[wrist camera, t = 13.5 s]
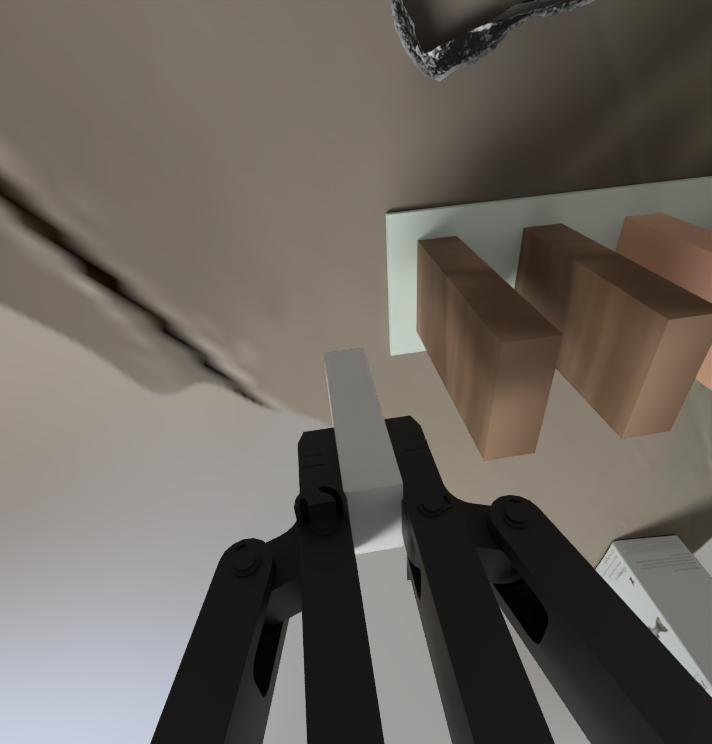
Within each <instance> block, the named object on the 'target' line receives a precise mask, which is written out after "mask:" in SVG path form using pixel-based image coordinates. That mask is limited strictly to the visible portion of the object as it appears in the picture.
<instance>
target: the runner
mask: <svg viewBox="0 0 712 744" xmlns="http://www.w3.org/2000/svg"><path fill="white" fill-rule="evenodd" d="M654 213H664V214H667V215H669V216H672V217H675V218H678V219H680V220H683V221H686V222H688V223H691V224H694V225H697V226H699V227H702V228H705V229H708V230H710V231H712V176H707V177H698V178H689V179H681V180H672V181H663V182H654V183H646V184H637V185H628V186H619V187H611V188H602V189H593V190H584V191H576V192H567V193H558V194H549V195H541V196H532V197H523V198H515V199H506V200H497V201H488V202H480V203H471V204H462V205H453V206H445V207H436V208H427V209H418V210H410V211H401V212H392V213H386V239H387V272H388V304H389V336H390V354H391V355H398V354H405V353H413V352H420V351H426V349H425V347H424V345H423V343H422V341H421V339H420V337H419V335H418V333H417V331H416V325H417V240H425V239H433V238H442V237H450V236H457V237H458V238H460V239H461V240H462V241H463V242H464V243H465V244H466V245H467V246H468V247H469V248H470V249H471V250H472V251H474V252H475V253H476V254H477V255H478V256H479V257H480V258H481V259H482V260H483V261H484V262H485V263H487V264H488V265H489V266H490V267H491V268H492V269H493V270H494V271H495V272H496V273H497V274H498V275H500V276H501V277H502V278H503V279H504V280H505V281H506V282H507V283H508V284H509V285H510V286H511V287H512V288H514V287H515V281H516V274H517V268H518V261H519V255H520V248H521V242H522V235H523V229H524V228H525V227H533V226H542V225H550V224H559V223H562V224H564V225H566V226H568V227H569V228H571V229H573V230H575V231H577V232H579V233H581V234H583V235H584V236H586V237H588V238H590V239H592V240H594V241H596V242H598V243H599V244H601V245H603V246H605V247H607V248H609V249H611V250H613V251H614V252H615V250H616V247H617V243H618V240H619V237H620V233H621V230H622V226H623V223H624V219H625V217H627V216H636V215H645V214H654Z"/></svg>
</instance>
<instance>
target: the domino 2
mask: <svg viewBox="0 0 712 744" xmlns="http://www.w3.org/2000/svg"><path fill="white" fill-rule="evenodd" d="M514 289H515V290H516V291H517V292H518V293H519V294H520V295H521V296H522V297H523V298H524V299H525V300H527V301H528V302H529V303H530V304H531V305H532V306H533V307H534V308H535V309H536V310H537V311H538V312H539V313H541V314H542V315H543V316H544V317H545V318H546V319H547V320H548V321H549V322H550V323H551V324H552V325H554V326H555V327H556V328H557V329H558V330H559V331H560V332H561V333H562V334H563V338H562V343H561V347H560V351H559V355H558V359H557V363H556V367H555V368H556V369H557V370H558V371H559V372H560V373H561V374H562V375H563V376H564V377H565V379H566V380H567V381H568V382H569V383H570V384H571V385H572V386H573V387H574V388H575V389H576V390H577V391H578V393H579V394H580V395H581V396H582V397H583V398H584V399H585V400H586V401H587V402H588V403H589V404H590V405H591V406H592V408H593V409H594V410H595V411H596V412H597V413H598V414H599V415H600V416H601V417H602V418H603V419H604V420H605V421H606V423H607V424H608V425H609V426H610V427H611V428H612V429H613V430H614V431H615V432H616V433H617V434H618V435H619V437H620V438H621V439H623V438H630V437H636V436H642V435H648V434H654V433H661V432H667V431H670V430H671V428H672V426H673V424H674V422H675V419H676V417H677V415H678V413H679V411H680V409H681V407H682V405H683V403H684V401H685V399H686V397H687V395H688V392H689V390H690V388H691V386H692V384H693V382H694V380H695V378H696V376H697V374H698V372H699V370H700V367H701V365H702V363H703V361H704V359H705V357H706V355H707V353H708V351H709V349H710V347H711V345H712V303H710V302H708V301H706V300H704V299H703V298H701V297H699V296H697V295H695V294H693V293H691V292H689V291H688V290H686V289H684V288H682V287H680V286H678V285H676V284H674V283H673V282H671V281H669V280H667V279H665V278H663V277H661V276H659V275H658V274H656V273H654V272H652V271H650V270H648V269H646V268H644V267H643V266H641V265H639V264H637V263H635V262H633V261H631V260H629V259H628V258H626V257H624V256H622V255H620V254H618V253H616V252H614V251H613V250H611V249H609V248H607V247H605V246H603V245H601V244H599V243H598V242H596V241H594V240H592V239H590V238H588V237H586V236H584V235H583V234H581V233H579V232H577V231H575V230H573V229H571V228H569V227H568V226H566V225H564V224H562V223H559V224H550V225H542V226H533V227H525V228H524V229H523V235H522V242H521V248H520V255H519V261H518V268H517V274H516V281H515V287H514Z"/></svg>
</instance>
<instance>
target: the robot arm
mask: <svg viewBox="0 0 712 744" xmlns="http://www.w3.org/2000/svg"><path fill="white" fill-rule="evenodd" d="M323 354H324V362H325V370H326V377H327V385H328V393H329V400H330V408H331V415H332V422H333V428H328V429H321V430H315V431H307V432H303V435H302V436H301V439H300V441H299V443H298V458H299V459H298V461H299V485H300V494H299V495H298V496H297V498H296V500H295V506H294V510H295V514H296V518H297V521H296V523H295V524H294V525H293V527H292V528H291V529H289V530H288V531H287V532H286V533H284V534H282V535H281V536H279V537H277V538H275V539H273V540H271V541H269V542H266V543H265V542H264V541H262V540H258V539H255V538H251V539H244V540H241V541H239V542H237V543H235V544H233V545H232V546H231V547H230V548H228V549H227V550H226V551H225V552H224V554H223V556H222V557H221V559H220V561H219V563H218V566H217V568H216V571H215V574H214V576H213V579H212V582H211V584H210V587H209V590H208V592H207V595H206V598H205V600H204V603H203V606H202V609H201V611H200V614H199V616H198V619H197V621H196V624H195V627H194V629H193V632H192V635H191V638H190V640H189V643H188V645H187V648H186V651H185V653H184V656H183V658H182V661H181V664H180V666H179V669H178V672H177V674H176V677H175V680H174V682H173V685H172V688H171V690H170V693H169V696H168V698H167V701H166V704H165V706H164V709H163V711H162V714H161V717H160V719H159V722H158V725H157V728H156V730H155V733H154V735H153V738H152V741H151V743H150V744H263V739H264V734H265V729H266V725H267V720H268V715H269V710H270V706H271V701H272V697H273V692H274V687H275V682H276V677H277V673H278V668H279V664H280V659H281V654H282V650H283V645H284V640H285V635H286V630H287V626H288V621H289V618H290V617H292V616H294V615H296V614H298V613H299V612H301V611H302V620H303V621H302V622H303V647H304V673H305V697H306V724H307V744H384V738H383V732H382V725H381V719H380V712H379V706H378V699H377V694H376V687H375V680H374V674H373V667H372V660H371V654H370V647H369V641H368V635H367V628H366V622H365V615H364V609H363V602H362V596H361V590H360V583H359V576H358V570H357V564H356V557H355V554H361V553H367V552H372V551H378V550H384V549H390V548H396V547H402V546H403V540H404V543H405V547H406V551H407V580H411V582H412V586H413V590H414V594H415V598H416V602H417V606H418V610H419V614H420V618H421V621H422V626H423V630H424V633H425V637H426V641H427V645H428V649H429V653H430V657H431V661H432V665H433V669H434V673H435V677H436V681H437V685H438V689H439V693H440V697H441V701H442V704H443V708H444V712H445V717H446V721H447V725H448V729H449V732H450V737H451V741H452V744H555V743H554V741H553V738H552V736H551V733H550V731H549V728H548V726H547V723H546V721H545V718H544V716H543V713H542V711H541V708H540V706H539V704H538V701H537V699H536V696H535V694H534V691H533V689H532V686H531V684H530V681H529V679H528V676H527V674H526V671H525V669H524V667H523V664H522V662H521V659H520V657H519V654H518V652H517V649H516V647H515V644H514V642H513V640H512V637H511V634H510V632H509V630H508V628H507V625H506V622H505V620H504V617H503V615H502V612H501V610H500V608H501V609H502V611H503V612H504V614H505V615H506V617H507V618H508V620H509V621H510V623H511V624H512V626H513V627H514V629H515V630H516V632H517V633H518V635H519V636H520V638H521V639H522V641H523V642H524V644H525V645H526V647H527V648H528V650H529V651H530V653H531V654H532V656H533V657H534V659H535V660H536V662H537V663H538V665H539V666H540V667H541V669H542V671H543V672H544V674H545V675H546V677H547V678H548V680H549V681H550V683H551V684H552V686H553V687H554V689H555V690H556V692H557V693H558V695H559V696H560V698H561V699H562V701H563V702H564V704H565V705H566V707H567V708H568V710H569V711H570V713H571V714H572V716H573V717H574V719H575V720H576V722H577V723H578V725H579V726H580V728H581V729H582V731H583V732H584V734H585V735H586V736H587V738H588V740H589V741H590V743H591V744H712V697H711V696H710V695H709V694H708V693H707V692H706V690H705V689H704V688H703V687H702V686H701V685H700V684H699V683H698V682H697V681H696V680H695V678H694V677H693V676H692V675H691V674H690V673H689V672H688V671H687V670H686V669H685V667H684V666H683V665H682V664H681V663H680V662H679V661H678V660H677V659H676V658H675V657H674V655H673V654H672V653H671V652H670V651H669V650H668V649H667V648H666V647H665V646H664V645H663V643H662V642H661V641H660V640H659V639H658V638H657V637H656V636H655V635H654V634H653V633H652V631H651V630H650V629H649V628H648V627H647V626H646V625H645V624H644V623H643V622H642V620H641V619H640V618H639V617H638V616H637V615H636V614H635V613H634V612H633V611H632V610H631V608H630V607H629V606H628V605H627V604H626V603H625V602H624V601H623V600H622V599H621V598H620V596H619V595H618V594H617V593H616V592H615V591H614V590H613V589H612V588H611V587H610V585H609V584H608V583H607V582H606V581H605V580H604V579H603V578H602V577H601V576H600V575H599V573H598V572H597V571H596V570H595V569H594V568H593V567H592V566H591V565H590V564H589V563H588V561H587V560H586V559H585V558H584V557H583V556H582V555H581V554H580V553H579V552H578V551H577V549H576V548H575V547H574V546H573V545H572V544H571V543H570V542H569V541H568V540H567V538H566V537H565V536H564V535H563V534H562V533H561V532H560V531H559V530H558V529H557V528H556V526H555V525H554V524H553V523H552V522H551V521H550V520H549V519H548V518H547V517H546V516H545V514H544V513H543V512H542V511H541V510H540V509H539V508H538V507H537V506H536V505H535V504H533V503H532V502H531V501H530V500H527V499H525V498H522V497H520V496H513V495H507V496H502V497H499V498H498V499H496V500H495V501H493V503H492V505H491V506H489V505H481V504H473V503H468V502H464V501H462V500H460V499H457V498H456V497H454V496H453V495H452V494H450V492H449V491H448V490H447V489H446V488H445V486H444V484H443V482H442V479H441V477H440V474H439V472H438V469H437V466H436V464H435V461H434V459H433V456H432V454H431V451H430V449H429V446H428V444H427V441H426V439H425V436H424V433H423V431H422V428H421V426H420V424H418V423H417V422H416V421H415V420H414V419H413V418H412V417H411V416H404V417H397V418H390V419H384V417H383V414H382V411H381V407H380V404H379V400H378V397H377V394H376V390H375V387H374V384H373V380H372V377H371V373H370V370H369V367H368V363H367V360H366V356H365V353H364V350H363V348H357V349H349V350H342V351H334V352H326V353H323ZM499 606H500V607H499Z"/></svg>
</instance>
